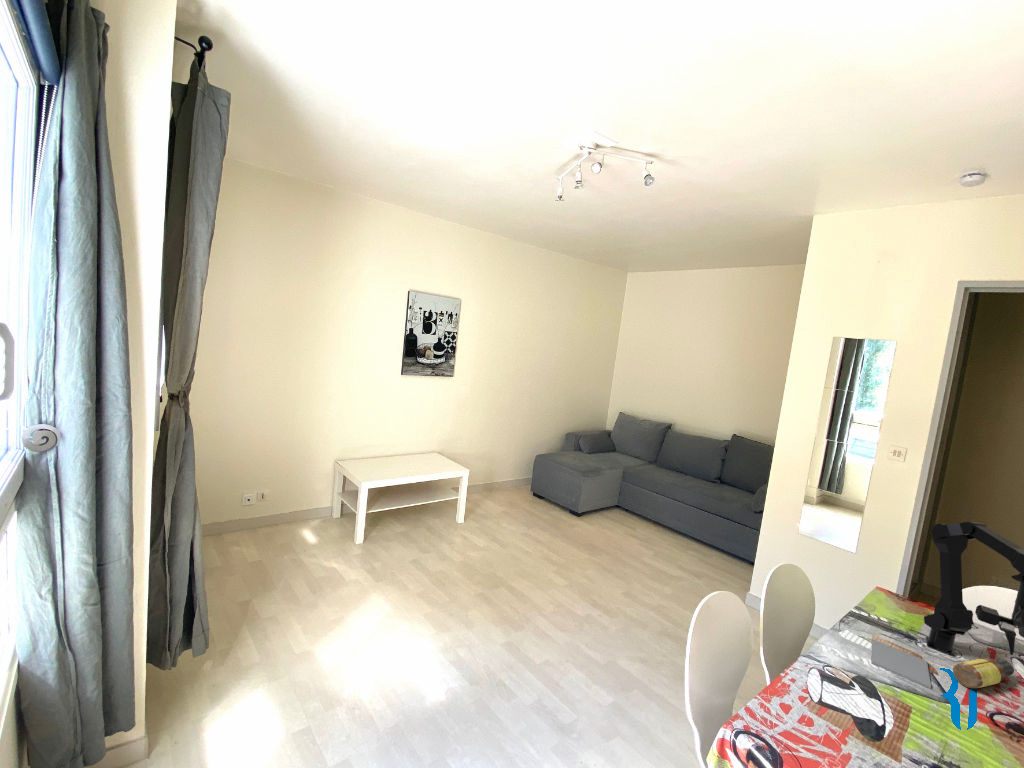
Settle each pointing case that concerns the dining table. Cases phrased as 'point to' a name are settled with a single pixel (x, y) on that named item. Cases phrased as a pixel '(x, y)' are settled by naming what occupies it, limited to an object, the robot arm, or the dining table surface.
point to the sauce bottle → (982, 672)
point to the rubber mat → (900, 663)
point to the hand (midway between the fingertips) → (1018, 657)
